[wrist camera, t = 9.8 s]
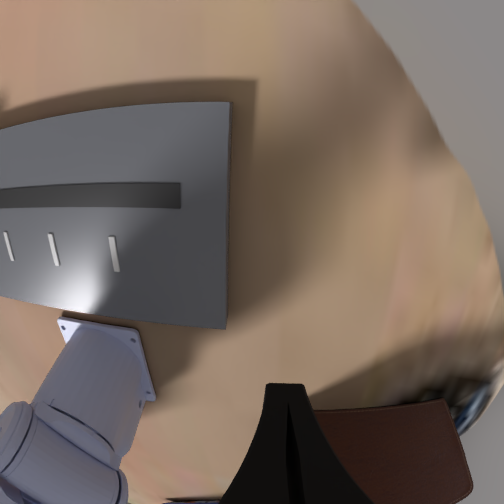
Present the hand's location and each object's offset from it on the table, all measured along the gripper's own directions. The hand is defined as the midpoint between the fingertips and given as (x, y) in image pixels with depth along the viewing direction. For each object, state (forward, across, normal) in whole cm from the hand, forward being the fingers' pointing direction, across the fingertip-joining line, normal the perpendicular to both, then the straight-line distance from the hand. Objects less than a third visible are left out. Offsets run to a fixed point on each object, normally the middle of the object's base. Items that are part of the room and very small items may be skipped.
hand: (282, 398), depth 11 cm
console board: (+10, +18, -3) cm, 21 cm away
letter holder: (+10, -11, +21) cm, 26 cm away
